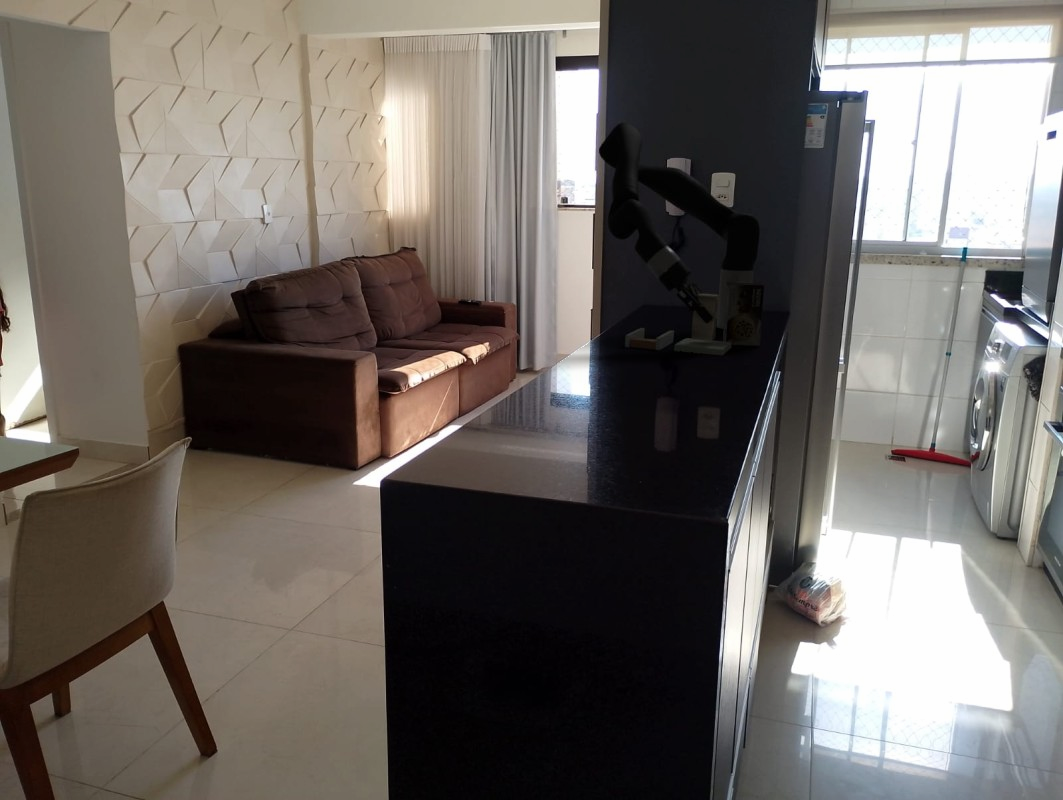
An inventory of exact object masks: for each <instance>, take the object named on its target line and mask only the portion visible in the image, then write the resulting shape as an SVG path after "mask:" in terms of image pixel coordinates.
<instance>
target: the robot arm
mask: <svg viewBox="0 0 1063 800" xmlns="http://www.w3.org/2000/svg"><path fill="white" fill-rule="evenodd" d="M642 146H643V138H642V135H641V133H640V132H639V131H638V129H637V128H635V126H633V125H631V124H629V123H628V122H620V123H618V124H616V126H614V127H613V129H612V130H611V131H610V132H609V133H608V135H607V136H606V138H605V139H604V141H603V142H602V143H601V145H600V146H599V147H598V154H599V156H600V158H601V159H602V160H603V162H604V163H606V164H607V165H608V166H610V167H612V168H613V169H614V173H613V177H612V181H611V199H612V202H611V203H610V206H609V207H610V208H609V212H608V215H607V227H608V230H609V232H610V234H611V236H613V237H614V238H616V239H618V240H626V239H629V238H630V237H631V236H632V235H633V234H634V233H635V232H636V231H637V232H638V233H637V234H638V238H637V239H636V242H635V244H634V251H635V252H636V253H637V254H638V256H639V257H640V258H641V260H643V262H644V263H645V264H646V265H647V266H648V268H649V270H650V271H651V273H652V274H653V276H655V277H656V279H657V280H658V282H660V283H661V284H662V286H663V287H664V288H665V289H666V291H668V292H673V291H674V290H676V291H677V293H676V296H677V298H679V300H680V301H681V302H682V303H683V304H684V305H685V306H686V307H687V308H688V309H689V311H691V312H693V311H694V312H695V313H697V314H698V315H699V316H700V317H701V318H702V319H703V321H704V322H705V323H709V322H710V321H711V320H712V319H713V317H712V316H711V314H710V313H709V312H708V311H707V310H706V308H705V307H704V306H703V304H702V303H701V302H700V301H699V297H698V294H705V293H704V292H703V291H702V290H701V288H700V287H699V285H698V284H697V283H694V282H691V281H690V280H688V278H690V276H691V275H692V270H691V269H690V268H689V267H688V266H687V264H686V263H685V262H684V261H683V260H682V258H681V257H680V256H679V255H678V254H677V252H675V251H674V250H673V249H672V248H671V247H670V246H669V245H668V244H667V243H666V242H665V240H664V239H663V237H661V236H660V235H659V233H658V231H657V229H656V227H655V224H654V223H653V220H652V219H651V217H650V215H649V212H648V210H647V209H646V207H645V206H644V205H643V203H642V202H640V191H639V190H640V189H639V183H640V184H642V185H643V186H645V187H646V188H648V189H650V190H651V191H652V192H654V194H655V193H656V194H657V195H658V196H659V197H661V198H662V199H664V200H665V201H666V202H668V203H670V204H671V205H672V206H674V207H675V208H677V209H679V210H681V211H682V212H684V213H685V214H687V215H688V216H691V217H692V218H695V219H697V220H699V221H700V222H702V223H703V224H705V225H706V226H707V227H709V228H710V230H712V231H713V232H715V234H717V235H718V236H719V237H720V238H722V239H723V240H724V241H725V242H726V248H725V249H726V251H725V254H724V257H723V258H722V259H721V265H720V277H719V278H720V279H719V288H718V289H719V292H718V295H719V297H718V309H717V321H716V329H717V328H718V329H721V330H724V317H725V303H726V289H727V282H753V278H754V267H755V263H756V261H757V257H758V253H759V252H758V251H759V242H760V234H761V231H760V230H761V229H760V223H759V220H758V219H757V218H756V217H755V216H754V215H752V214H749V213H746V212H745V213H744V212H738V211H736V210H734V209H732V208H731V207H728V206H726V205H725V204H723V203H722V202H720V201H719V200H718V199H716V198H715V196H714V195H712V193H711V192H710V191H709V190H708V189H707V188H706V187H705V186H704V185H703V184H702V183H701V182H700V181H699V180H697V179H696V178H695V177H693V176H692V175H690V174H688V173H687V172H686V171H684V170H683V169H680V168H678V167H677V168H676V167H671V166H655V165H648V164H645V163H642V162H640V160H641V159H640V158H641V151H642V148H643V147H642ZM694 303H695V304H694ZM702 307H703V308H702Z"/></svg>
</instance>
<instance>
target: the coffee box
mask: <svg viewBox="0 0 1063 800" xmlns="http://www.w3.org/2000/svg"><path fill="white" fill-rule="evenodd" d="M764 293H765V284H763V283H762V282H760V281H759V282H755V281H754V282H753V281H752V282H727V289H726V303H725V317H724V329H723V334H722V341H724V342H732V346H749V347H750V346H751V347H759V346H761V336H762V334H761V333H762V324H763V323H762V321H763V320H762V319H763V311H764V310H763V307H764V295H765V294H764Z"/></svg>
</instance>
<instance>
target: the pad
mask: <svg viewBox="0 0 1063 800" xmlns="http://www.w3.org/2000/svg"><path fill="white" fill-rule="evenodd" d="M732 346H733V345H732V342H724V341H723V340H722V341H721V340H714V339H713V340H712V341H707V340H696V339H691V338H690V337H685V338H684V339H682V340H680V341H679V342H677V343H676V344H674V347H673V348H674V349H673V351H674V352H680V351H682V352H683V353H691V352H693V353H694V354H701V353H702V354H703V355H714V356H723V355H725V354H726V353H727V352H728V351H729V350H730V349H732ZM682 352H681V353H682ZM693 353H692V354H693Z"/></svg>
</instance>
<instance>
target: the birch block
mask: <svg viewBox="0 0 1063 800" xmlns="http://www.w3.org/2000/svg"><path fill="white" fill-rule="evenodd" d="M698 297H699V301H700V302H701V303H702V304H703V306H704V307H705V308H706V310H707V311H708V312H709V313H710V314H711V316H712V317H713V319H712V320H711V321H710V322H709V323H705V322H704V321H703V319H702V318H701V317H700V316H699V315H698V314H697V313H695V312H694V311H693V313H692V326H691V338H690V339H696V340H707V341H712V340H713V341H714V340H715V339H716V331H717V314H718V301H719V294H713V293H704V294H698ZM694 304H695V303H694ZM702 308H703V307H702Z"/></svg>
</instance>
